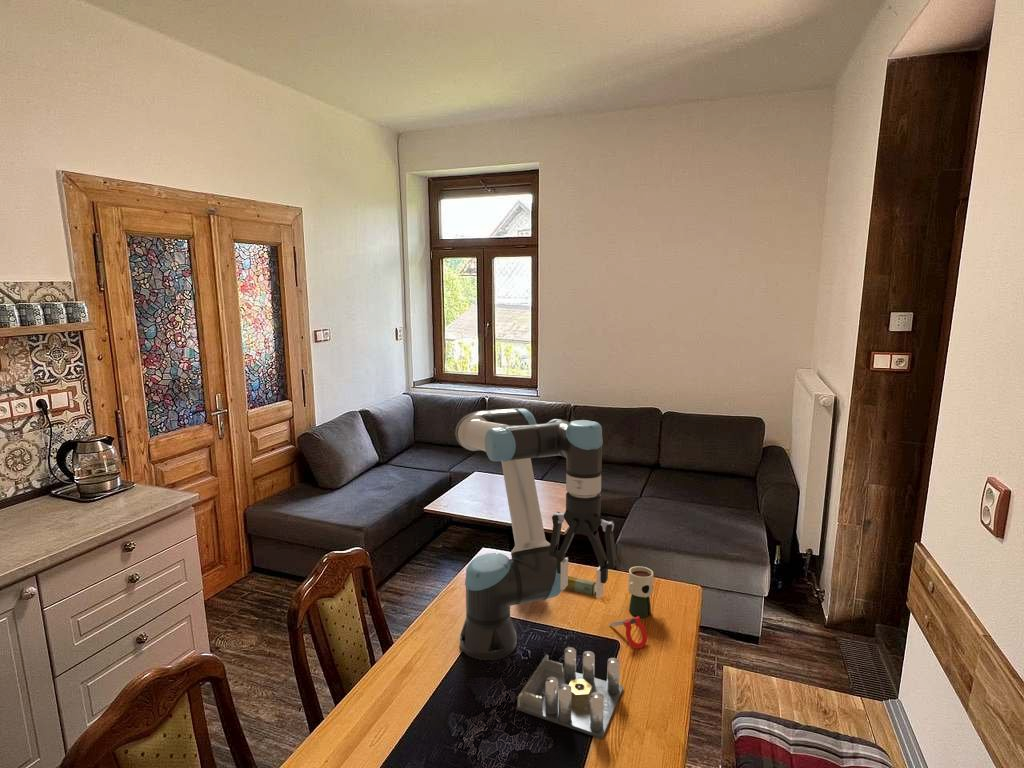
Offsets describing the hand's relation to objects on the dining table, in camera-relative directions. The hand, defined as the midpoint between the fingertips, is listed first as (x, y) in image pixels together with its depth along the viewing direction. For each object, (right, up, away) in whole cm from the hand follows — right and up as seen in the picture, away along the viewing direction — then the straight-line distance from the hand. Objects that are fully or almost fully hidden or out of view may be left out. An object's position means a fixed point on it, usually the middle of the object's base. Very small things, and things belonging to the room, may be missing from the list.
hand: (581, 591), depth 124 cm
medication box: (+5, -20, +53) cm, 57 cm away
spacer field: (-2, -27, +5) cm, 27 cm away
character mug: (+22, -22, +41) cm, 51 cm away
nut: (0, -26, +4) cm, 26 cm away
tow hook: (+17, -26, +27) cm, 41 cm away
